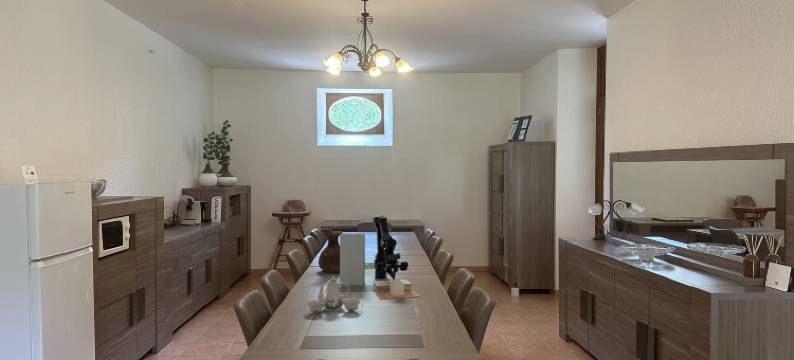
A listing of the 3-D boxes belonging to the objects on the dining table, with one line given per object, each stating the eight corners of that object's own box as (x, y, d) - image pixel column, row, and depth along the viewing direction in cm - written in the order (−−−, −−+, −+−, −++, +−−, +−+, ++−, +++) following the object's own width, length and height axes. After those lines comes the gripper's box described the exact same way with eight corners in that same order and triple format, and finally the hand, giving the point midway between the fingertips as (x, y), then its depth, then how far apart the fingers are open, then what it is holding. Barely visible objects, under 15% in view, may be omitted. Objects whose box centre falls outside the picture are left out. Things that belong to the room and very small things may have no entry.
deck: (373, 288, 294) (373, 281, 293) (406, 286, 298) (406, 279, 298) (376, 292, 283) (377, 285, 283) (411, 290, 288) (411, 283, 288)
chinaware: (306, 320, 237) (306, 286, 235) (302, 307, 253) (303, 275, 251) (364, 316, 245) (365, 283, 242) (357, 303, 260) (358, 272, 258)
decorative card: (401, 253, 370) (403, 258, 350) (401, 263, 370) (403, 269, 350) (357, 253, 368) (356, 258, 348) (357, 264, 368) (356, 269, 348)
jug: (314, 269, 346) (314, 225, 345) (343, 266, 355) (343, 224, 354) (323, 275, 326) (323, 229, 325) (354, 273, 335) (354, 228, 334)
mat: (375, 293, 282) (375, 292, 282) (413, 291, 287) (413, 290, 287) (380, 299, 270) (380, 298, 270) (419, 296, 275) (419, 296, 275)
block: (389, 279, 283) (393, 283, 275) (400, 279, 284) (403, 282, 276) (389, 292, 283) (393, 295, 275) (400, 291, 284) (403, 295, 276)
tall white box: (364, 282, 307) (365, 233, 306) (363, 285, 301) (363, 235, 300) (341, 282, 308) (342, 233, 307) (339, 284, 302) (340, 234, 302)
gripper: (376, 248, 288) (380, 272, 278) (407, 247, 293) (412, 270, 282) (373, 260, 296) (377, 283, 286) (404, 258, 300) (408, 281, 290)
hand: (394, 279), depth 286 cm, fingers closed
